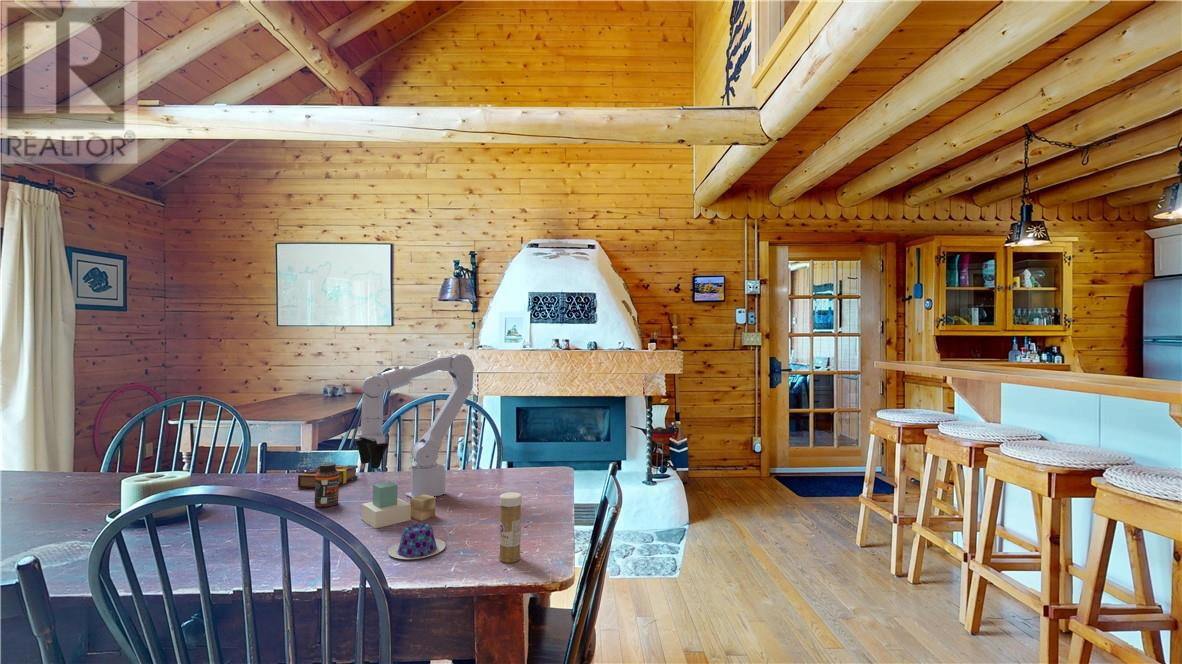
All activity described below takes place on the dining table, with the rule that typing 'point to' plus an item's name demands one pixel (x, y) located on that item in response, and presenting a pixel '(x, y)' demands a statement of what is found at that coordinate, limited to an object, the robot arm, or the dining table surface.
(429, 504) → the oak block
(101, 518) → the dining table surface
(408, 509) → the base slab
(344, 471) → the decorative book
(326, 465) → the supplement bottle
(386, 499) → the teal block
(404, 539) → the purple patterned hat
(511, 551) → the sprinkles bottle
